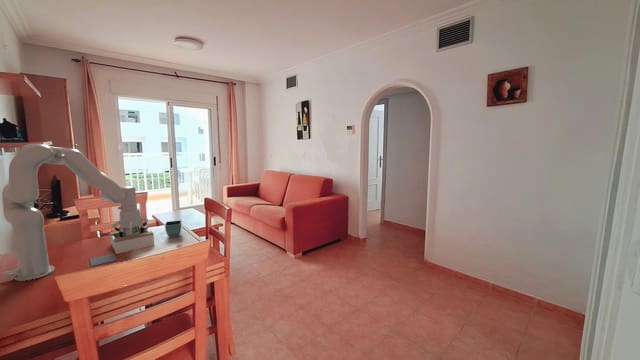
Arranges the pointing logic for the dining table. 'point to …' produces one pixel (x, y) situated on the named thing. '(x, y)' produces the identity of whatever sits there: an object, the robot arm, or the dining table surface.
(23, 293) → the dining table surface
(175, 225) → the flower pot
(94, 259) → the placing mat
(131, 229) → the syrup box
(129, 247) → the slotted crate
